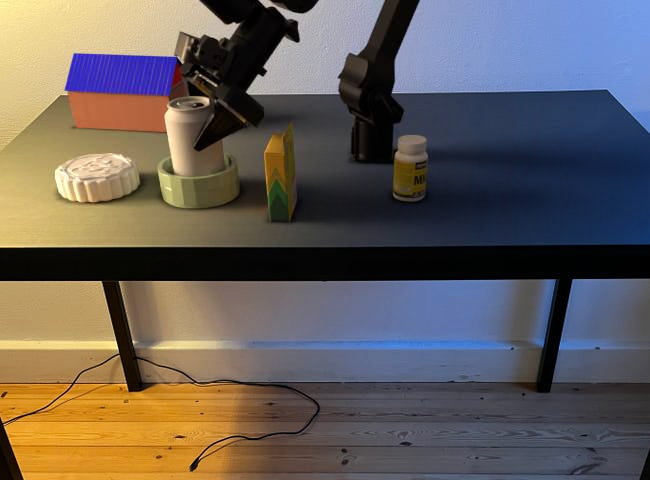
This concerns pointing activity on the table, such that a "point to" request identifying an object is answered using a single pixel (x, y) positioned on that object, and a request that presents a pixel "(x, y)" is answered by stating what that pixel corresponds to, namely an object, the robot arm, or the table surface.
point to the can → (191, 138)
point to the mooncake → (97, 177)
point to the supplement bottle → (410, 168)
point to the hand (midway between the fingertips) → (186, 141)
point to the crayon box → (281, 175)
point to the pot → (199, 186)
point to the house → (123, 90)
